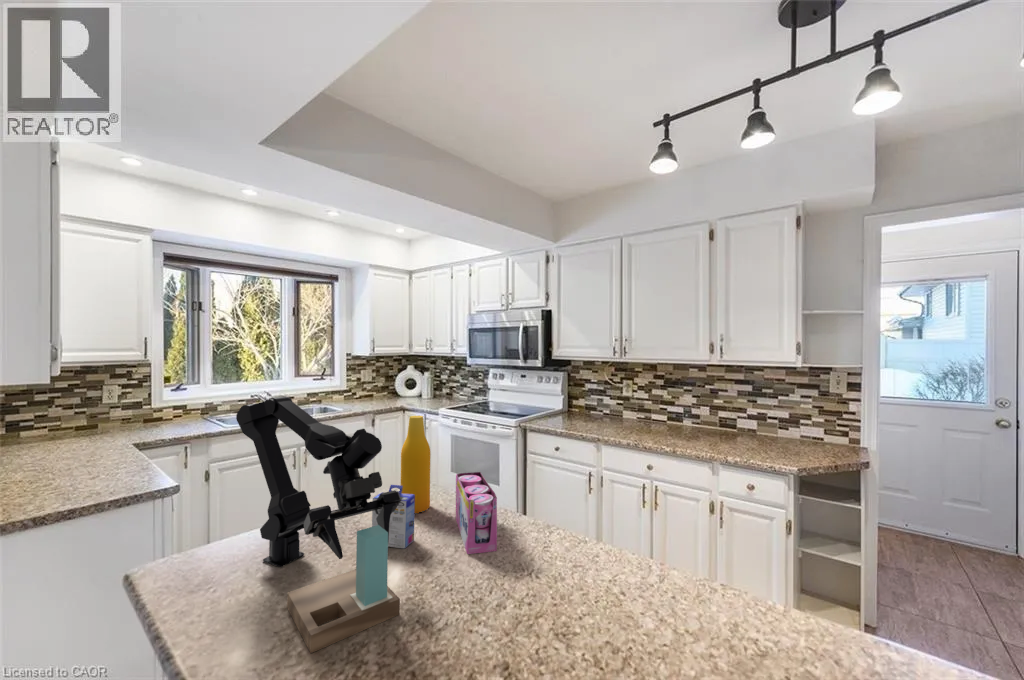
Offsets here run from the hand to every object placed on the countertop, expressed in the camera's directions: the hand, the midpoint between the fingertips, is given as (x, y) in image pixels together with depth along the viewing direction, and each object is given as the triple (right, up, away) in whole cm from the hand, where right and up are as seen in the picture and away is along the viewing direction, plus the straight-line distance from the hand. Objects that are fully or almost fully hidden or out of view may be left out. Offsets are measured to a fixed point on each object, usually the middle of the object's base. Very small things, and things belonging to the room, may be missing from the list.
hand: (364, 550), depth 84 cm
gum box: (+19, -12, +32) cm, 39 cm away
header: (-4, -11, -2) cm, 11 cm away
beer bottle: (-1, -11, +49) cm, 51 cm away
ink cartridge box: (-2, -11, +26) cm, 29 cm away
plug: (+2, -7, -3) cm, 8 cm away
